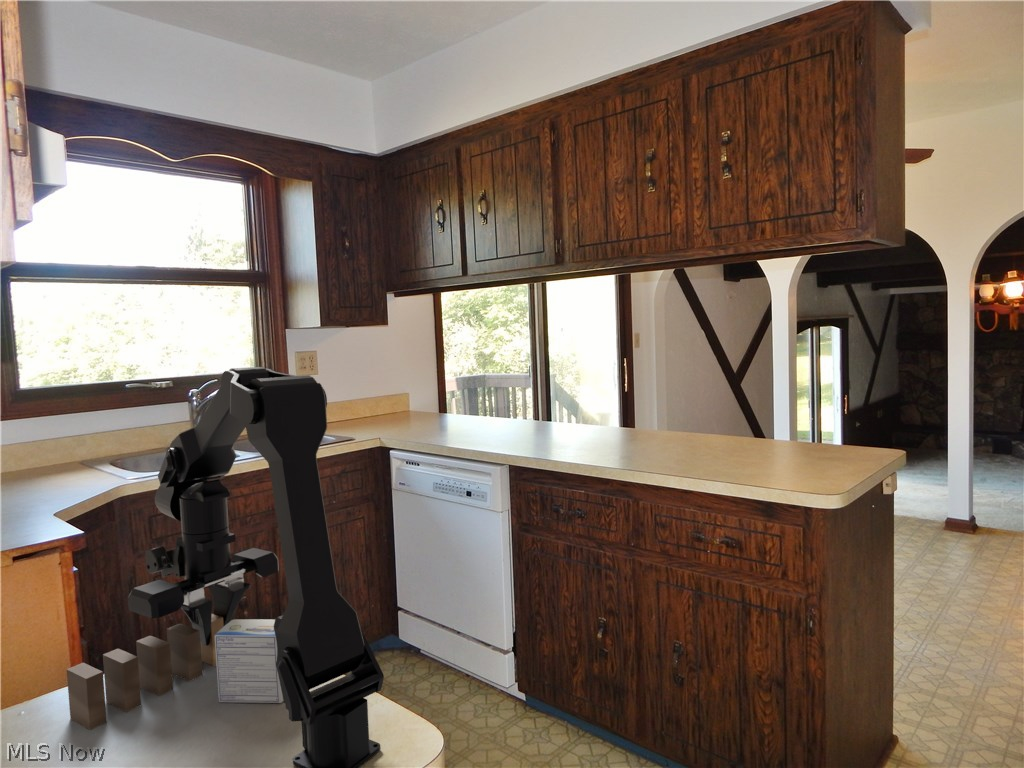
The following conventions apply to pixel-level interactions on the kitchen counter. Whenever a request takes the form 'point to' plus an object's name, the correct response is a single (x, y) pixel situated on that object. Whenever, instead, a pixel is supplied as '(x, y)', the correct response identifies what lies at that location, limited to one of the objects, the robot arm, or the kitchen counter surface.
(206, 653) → the domino
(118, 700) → the domino
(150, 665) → the domino
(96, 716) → the domino
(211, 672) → the kitchen counter surface
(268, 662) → the medicine box
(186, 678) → the domino
